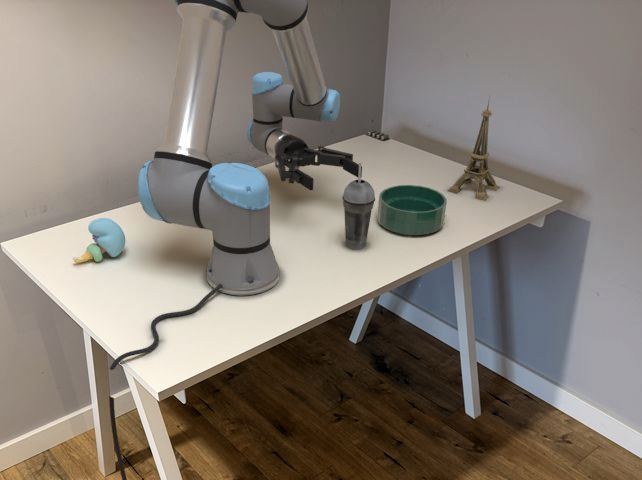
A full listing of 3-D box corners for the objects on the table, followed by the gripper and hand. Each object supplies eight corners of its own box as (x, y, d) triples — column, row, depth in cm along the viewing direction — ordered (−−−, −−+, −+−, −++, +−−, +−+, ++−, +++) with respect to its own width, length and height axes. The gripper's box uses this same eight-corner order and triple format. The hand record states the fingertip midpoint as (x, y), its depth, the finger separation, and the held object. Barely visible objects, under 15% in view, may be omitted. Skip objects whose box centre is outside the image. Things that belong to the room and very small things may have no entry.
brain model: (58, 225, 143) (110, 207, 149) (69, 261, 149) (119, 243, 154) (71, 238, 139) (125, 219, 144) (82, 274, 144) (133, 255, 150)
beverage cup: (374, 240, 158) (381, 157, 146) (368, 254, 152) (374, 169, 141) (343, 235, 160) (348, 153, 148) (336, 249, 154) (340, 165, 142)
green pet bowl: (430, 243, 157) (433, 218, 153) (367, 228, 163) (368, 203, 159) (451, 217, 169) (455, 192, 165) (391, 204, 174) (393, 180, 170)
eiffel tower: (499, 187, 184) (517, 93, 169) (484, 200, 177) (502, 103, 162) (463, 178, 189) (478, 85, 174) (447, 191, 182) (461, 95, 167)
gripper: (328, 154, 176) (378, 182, 162) (244, 173, 165) (290, 205, 151) (329, 125, 172) (381, 152, 157) (243, 143, 161) (290, 173, 146)
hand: (336, 178), depth 154 cm, fingers open, 13 cm apart
